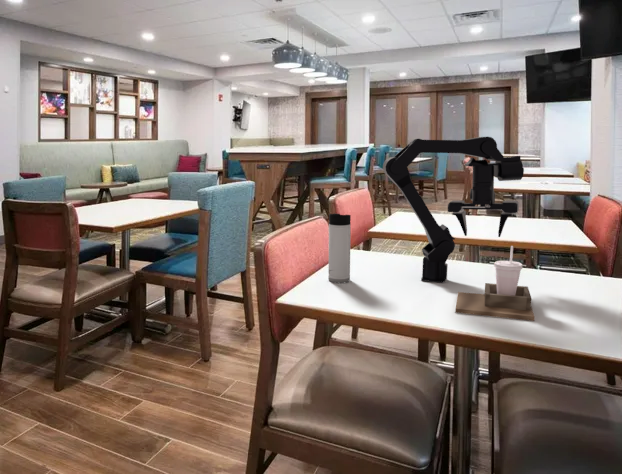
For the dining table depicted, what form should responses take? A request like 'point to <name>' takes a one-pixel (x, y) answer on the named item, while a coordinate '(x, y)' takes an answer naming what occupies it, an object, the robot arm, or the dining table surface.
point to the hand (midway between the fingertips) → (482, 236)
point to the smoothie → (507, 275)
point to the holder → (497, 303)
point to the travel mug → (339, 248)
